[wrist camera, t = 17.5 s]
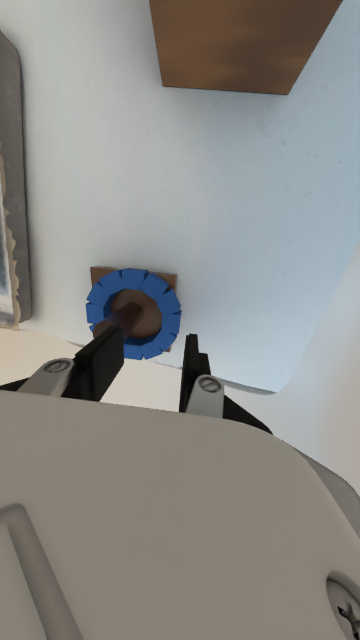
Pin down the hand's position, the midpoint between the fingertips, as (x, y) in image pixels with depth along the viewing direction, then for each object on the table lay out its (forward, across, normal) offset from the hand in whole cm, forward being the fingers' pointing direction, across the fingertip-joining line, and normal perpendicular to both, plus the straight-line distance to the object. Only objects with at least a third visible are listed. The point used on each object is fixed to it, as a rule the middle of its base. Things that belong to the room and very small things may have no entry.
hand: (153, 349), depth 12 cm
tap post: (+9, +4, 0) cm, 10 cm away
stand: (+9, -3, -24) cm, 26 cm away
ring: (+7, +3, 0) cm, 8 cm away
